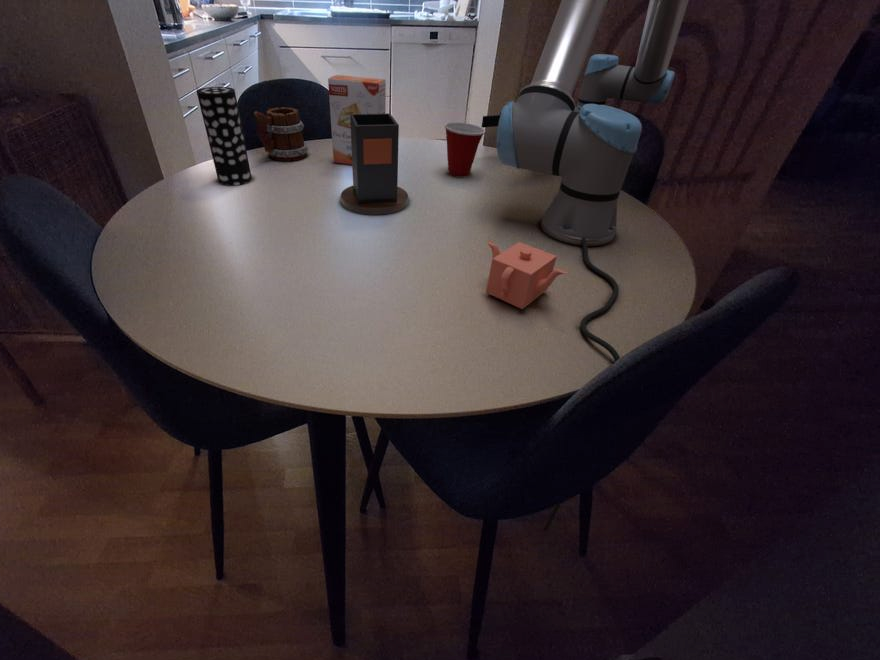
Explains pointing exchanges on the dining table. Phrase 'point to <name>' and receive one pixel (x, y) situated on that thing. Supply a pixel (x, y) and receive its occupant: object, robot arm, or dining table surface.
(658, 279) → the dining table surface
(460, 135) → the plastic cup
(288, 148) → the mug
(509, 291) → the teapot
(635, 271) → the dining table surface
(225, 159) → the spotted tube
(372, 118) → the bin
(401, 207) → the disc
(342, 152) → the cracker box
